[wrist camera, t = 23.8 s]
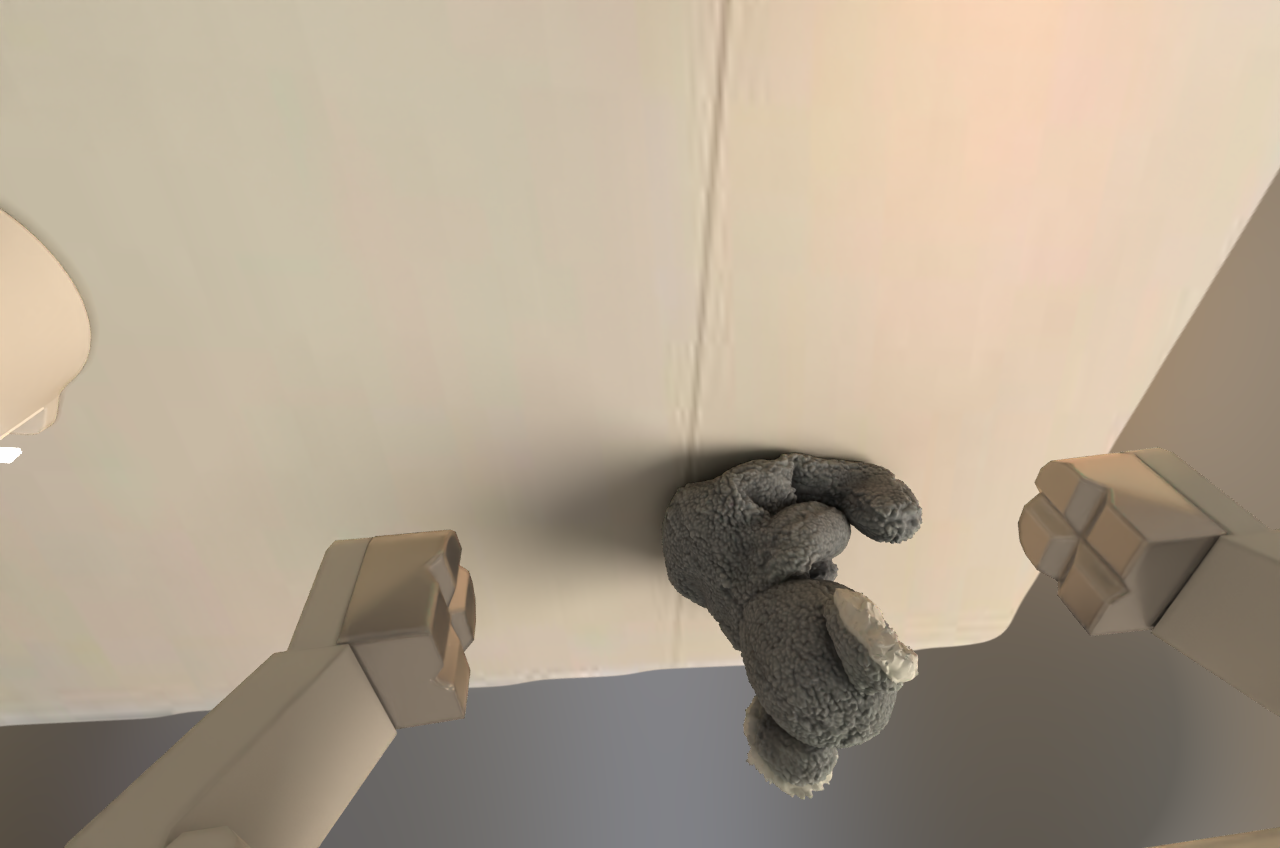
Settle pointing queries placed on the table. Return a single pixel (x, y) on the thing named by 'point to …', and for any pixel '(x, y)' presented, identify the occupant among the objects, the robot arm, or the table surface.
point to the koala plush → (796, 602)
